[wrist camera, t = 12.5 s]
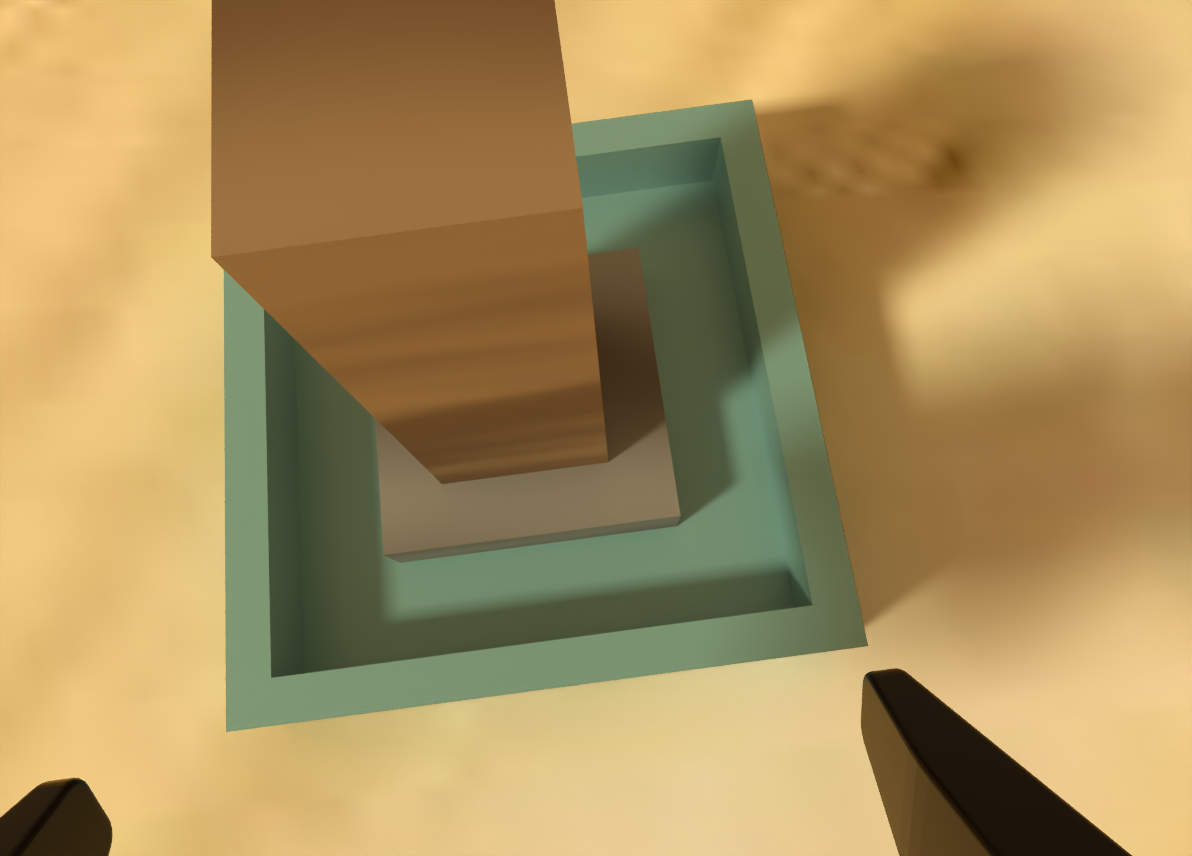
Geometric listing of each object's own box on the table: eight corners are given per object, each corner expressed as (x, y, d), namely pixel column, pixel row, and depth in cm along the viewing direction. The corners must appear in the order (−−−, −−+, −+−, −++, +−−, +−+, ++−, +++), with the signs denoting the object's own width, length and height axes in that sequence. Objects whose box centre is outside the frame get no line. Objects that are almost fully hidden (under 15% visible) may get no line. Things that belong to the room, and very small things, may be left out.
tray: (835, 648, 21) (868, 646, 18) (281, 723, 21) (226, 731, 18) (737, 165, 25) (751, 99, 22) (270, 228, 25) (223, 170, 22)
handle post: (677, 526, 21) (746, 317, 9) (399, 562, 21) (65, 408, 9) (638, 274, 23) (648, -197, 10) (384, 307, 23) (93, -121, 10)
